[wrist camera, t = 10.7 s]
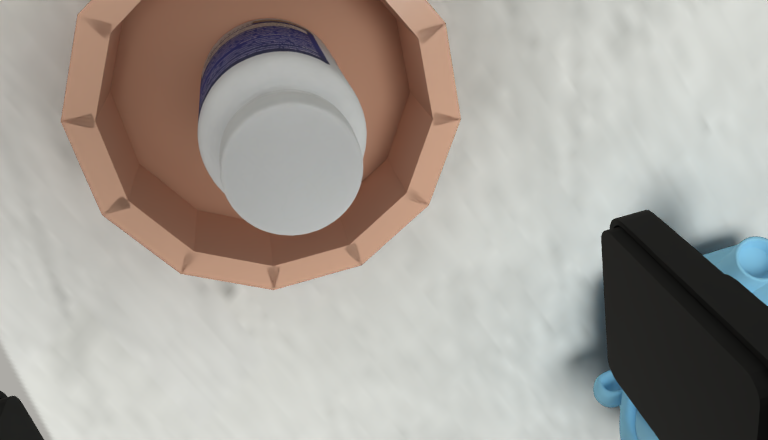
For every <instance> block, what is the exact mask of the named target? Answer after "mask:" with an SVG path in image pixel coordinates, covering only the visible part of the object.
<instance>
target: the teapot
mask: <svg viewBox="0 0 768 440" xmlns="http://www.w3.org/2000/svg"><path fill="white" fill-rule="evenodd" d="M703 256H704V257H705V258H706V259H708V260H709V261H710V262H711V263H712V264H713V265H715V266H716V267H717V268H718V269H719V270H720V271H722V272H723V273H724V274H728V275H730V276H731V277H733V278H734V279H736V280H737V281H738V282H740V283H741V284H742V285H743V286H744V287H746V288H747V289H748V290H749V291H750V292H751V293H753V294H754V295H755V296H756V297H757V298H759V299H760V300H761V301H762V302H763V303H765V304H766V305H767V306H768V239H766V238H763V237H749V238H747V239H744V240H743V241H742V242H740V243H739V244H738V245H734V246H731V247H727V248H724V249H721V250H718V251H714V252H711V253H708V254H705V255H703ZM593 391H594V395H595V398H596V400H597V401H598V402H599V403H600V404H601V405H603V406H605V407H617V406H619V407H620V438H621V440H659V439H658V437H657V436H656V435H655V433H654V432H653V431H652V429H651V428H650V426H649V425H648V424H647V422H646V421H645V420H644V418H643V417H642V415H641V414H640V413H639V411H638V410H637V409H636V407H635V406H634V405H633V403H632V402H631V400H630V399H629V398H628V396H627V395H626V394H625V392H624V391H623V389H622V388H621V387H620V385H619V384H618V383H617V381H616V380H615V378H614V376H613V374H612V372H611V370H609V371H606V372H604V373H602V374H601V375H599V376H598V377H597V378H596V380H595V383H594V388H593Z"/></svg>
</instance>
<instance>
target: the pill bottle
mask: <svg viewBox="0 0 768 440" xmlns="http://www.w3.org/2000/svg"><path fill="white" fill-rule="evenodd" d="M197 133H198V144H199V150H200V154H201V157H202V160H203V163H204V165H205V167H206V169H207V171H208V173H209V175H210V176H211V178H212V179H213V181H214V182H215V184H216V185H217V186H218V187H219V188H220V189H221V191H222V192H223V193H225V195H226V198H227V200H228V201H229V203H230V204H231V206H232V207H233V209H234V210H235V211H236V212H237V213H238V214H239V216H241V217H242V218H243V219H244V220H245V221H247V222H248V223H250V224H251V225H253V226H254V227H256V228H258V229H260V230H263V231H266V232H269V233H273V234H278V235H289V236H290V235H292V236H294V235H302V234H308V233H311V232H314V231H317V230H320V229H322V228H324V227H326V226H328V225H329V224H331V223H333V222H334V221H335V220H337V219H338V218H339V217H340V216H341V215H343V214H344V212H345V211H346V210H347V209H348V208H349V207H350V205H351V204H352V202H353V201H354V199H355V197H356V195H357V193H358V191H359V188H360V185H361V181H362V177H363V157H364V153H365V148H366V139H367V130H366V121H365V117H364V113H363V110H362V107H361V105H360V102H359V100H358V98H357V96H356V94H355V92H354V91H353V89H352V87H351V86H350V84H349V83H348V81H347V80H346V78H345V77H344V75H343V74H342V72H341V70H340V69H339V67H338V65H337V63H336V61H335V59H334V58H333V57H332V55H331V53H330V52H329V50H328V49H327V47H326V46H325V45H324V43H323V42H322V41H321V40H320V39H319V38H318V37H317V36H316V35H315V34H314V33H312V32H311V31H309V30H308V29H306V28H304V27H303V26H301V25H299V24H296V23H294V22H291V21H287V20H282V19H274V18H265V19H257V20H252V21H249V22H246V23H243V24H241V25H239V26H237V27H235V28H233V29H232V30H230V31H229V32H227V33H226V34H225V35H223V36H222V37H221V38H220V39H219V40H218V41H217V43H216V44H215V45H214V46H213V48H212V49H211V51H210V53H209V54H208V56H207V59H206V61H205V64H204V67H203V70H202V76H201V84H200V100H199V115H198V131H197Z"/></svg>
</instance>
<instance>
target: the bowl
mask: <svg viewBox="0 0 768 440" xmlns="http://www.w3.org/2000/svg"><path fill="white" fill-rule="evenodd" d="M265 18H274V19H282V20H287V21H291V22H294V23H296V24H299V25H301V26H303V27H304V28H306V29H308V30H309V31H311V32H312V33H314V34H315V35H316V36H317V37H318V38H319V39H320V40H321V41H322V42H323V43H324V45H325V46H326V47H327V49H328V50H329V52H330V53H331V55H332V57H333V58H334V59H335V61H336V63H337V65H338V67H339V69H340V70H341V72H342V74H343V75H344V77H345V78H346V80H347V81H348V83H349V84H350V86H351V87H352V89H353V91H354V92H355V94H356V96H357V98H358V100H359V102H360V105H361V107H362V110H363V113H364V117H365V121H366V130H367V139H366V148H365V153H364V157H363V177H362V181H361V185H360V188H359V191H358V193H357V195H356V197H355V199H354V201H353V202H352V204H351V205H350V207H349V208H348V209H347V210H346V211H345V212H344V214H343V215H341V216H340V217H339V218H338V219H337V220H335V221H334V222H333V223H331V224H329V225H328V226H326V227H324V228H322V229H320V230H317V231H314V232H311V233H308V234H302V235H294V236H292V235H290V236H289V235H278V234H273V233H269V232H266V231H263V230H260V229H258V228H256V227H254V226H253V225H251V224H250V223H248V222H247V221H245V220H244V219H243V218H242V217H241V216H239V214H238V213H237V212H236V211H235V210H234V209H233V207H232V206H231V204H230V203H229V201H228V200H227V198H226V195H225V193H223V192H222V191H221V189H220V188H219V187H218V186H217V185H216V184H215V182H214V181H213V179H212V178H211V176H210V175H209V173H208V171H207V169H206V167H205V165H204V163H203V160H202V157H201V154H200V150H199V144H198V133H197V131H198V115H199V100H200V84H201V76H202V70H203V67H204V64H205V61H206V59H207V56H208V54H209V53H210V51H211V49H212V48H213V46H214V45H215V44H216V43H217V41H218V40H219V39H220V38H221V37H222V36H223V35H225V34H226V33H227V32H229V31H230V30H232V29H233V28H235V27H237V26H239V25H241V24H243V23H246V22H249V21H252V20H257V19H265ZM460 120H461V117H460V111H459V105H458V98H457V92H456V86H455V80H454V73H453V67H452V61H451V54H450V48H449V42H448V36H447V29H446V23H445V22H444V21H443V20H442V18H441V17H440V16H439V15H438V14H437V12H436V11H435V10H434V9H433V8H432V6H431V5H430V4H429V3H428V2H427V0H91V1H90V2H89V3H88V4H87V5H86V6H85V7H84V8H83V9H82V11H81V12H80V13H79V14H78V15H77V21H76V28H75V34H74V40H73V47H72V53H71V59H70V66H69V72H68V79H67V85H66V91H65V98H64V104H63V110H62V117H61V123H62V125H63V127H64V130H65V132H66V134H67V137H68V139H69V141H70V143H71V146H72V148H73V150H74V152H75V155H76V157H77V159H78V161H79V164H80V166H81V168H82V171H83V173H84V175H85V177H86V180H87V182H88V184H89V186H90V189H91V191H92V193H93V196H94V198H95V200H96V202H97V205H98V207H99V209H100V211H101V214H102V215H103V216H104V217H105V218H107V219H108V220H109V221H111V222H112V223H113V224H115V225H116V226H117V227H119V228H120V229H121V230H123V231H124V232H125V233H127V234H128V235H130V236H131V237H132V238H134V239H135V240H136V241H138V242H139V243H140V244H142V245H143V246H144V247H146V248H147V249H148V250H150V251H151V252H152V253H154V254H155V255H156V256H158V257H159V258H160V259H162V260H163V261H164V262H166V263H167V264H168V265H170V266H171V267H172V268H174V269H175V270H176V271H178V272H179V273H180V274H185V275H191V276H197V277H202V278H208V279H214V280H220V281H225V282H231V283H237V284H243V285H248V286H254V287H260V288H265V289H271V290H275V289H279V288H282V287H286V286H289V285H293V284H297V283H300V282H304V281H307V280H311V279H314V278H318V277H321V276H325V275H328V274H332V273H335V272H339V271H343V270H346V269H350V268H353V267H357V266H360V265H362V264H363V263H365V262H366V261H367V260H368V259H369V258H370V257H371V256H372V255H373V254H375V253H376V252H377V251H378V250H379V249H380V248H381V247H382V246H384V245H385V244H386V243H387V242H388V241H389V240H390V239H391V238H392V237H394V236H395V235H396V234H397V233H398V232H399V231H400V230H401V229H402V228H404V227H405V226H406V225H407V224H408V223H409V222H410V221H411V220H413V219H414V218H415V217H416V216H417V215H418V214H419V213H420V212H421V211H423V210H424V209H425V208H426V207H427V206H428V205H429V203H430V200H431V198H432V195H433V192H434V190H435V187H436V184H437V181H438V179H439V176H440V173H441V171H442V168H443V165H444V163H445V160H446V157H447V155H448V152H449V149H450V147H451V144H452V141H453V139H454V136H455V133H456V131H457V128H458V125H459V122H460Z"/></svg>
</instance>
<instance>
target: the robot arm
mask: <svg viewBox="0 0 768 440" xmlns="http://www.w3.org/2000/svg"><path fill="white" fill-rule="evenodd" d="M601 244H602V262H603V280H604V298H605V316H606V334H607V352H608V362H609V366H610V369H611V372H612V374H613V376H614V378H615V380H616V381H617V383H618V384H619V385H620V387H621V388H622V389H623V391H624V392H625V394H626V395H627V396H628V398H629V399H630V400H631V402H632V403H633V405H634V406H635V407H636V409H637V410H638V411H639V413H640V414H641V415H642V417H643V418H644V420H645V421H646V422H647V424H648V425H649V426H650V428H651V429H652V431H653V432H654V433H655V435H656V436H657V437H658V439H659V440H768V306H767V305H766V304H765V303H763V302H762V301H761V300H760V299H759V298H757V297H756V296H755V295H754V294H753V293H751V292H750V291H749V290H748V289H747V288H746V287H744V286H743V285H742V284H741V283H740V282H738V281H737V280H736V279H734V278H733V277H731V276H730V275H728V274H724V273H723V272H722V271H720V270H719V269H718V268H717V267H716V266H715V265H713V264H712V263H711V262H710V261H709V260H708V259H706V258H705V257H704V256H703V255H702V254H701V253H699V252H698V251H697V250H696V249H695V248H694V247H692V246H691V245H690V244H689V243H688V242H687V241H685V240H684V239H683V238H682V237H681V236H680V235H678V234H677V233H676V232H675V231H674V230H672V229H671V228H670V227H669V226H668V225H667V224H665V223H664V222H663V221H662V220H661V219H660V218H658V217H657V216H656V215H655V214H654V213H652V212H651V211H649V210H644V211H641V212H637V213H633V214H630V215H626V216H622V217H619V218H615V219H613V220H612V221H611V224H610V229H609V230H606V231H604V232H603V233H602V236H601ZM0 440H44V439H43V437H42V436H41V434H40V432H39V431H38V429H37V427H36V426H35V424H34V422H33V421H32V419H31V417H30V416H29V414H28V412H27V411H26V409H25V407H24V406H23V404H22V403H21V401H20V400H19V399H18V398H17V397H16V396H10V397H7V396H6V395H5V394H4V393H3V392H1V391H0Z"/></svg>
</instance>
